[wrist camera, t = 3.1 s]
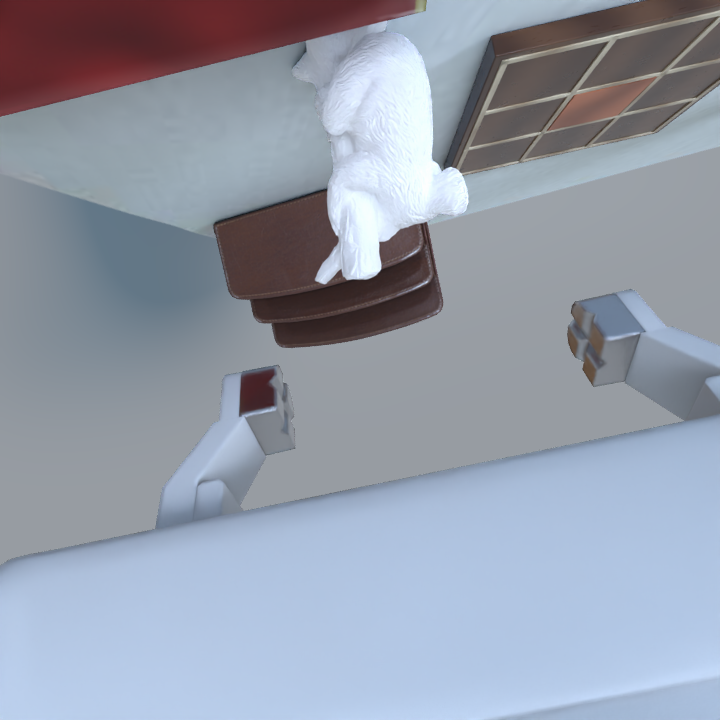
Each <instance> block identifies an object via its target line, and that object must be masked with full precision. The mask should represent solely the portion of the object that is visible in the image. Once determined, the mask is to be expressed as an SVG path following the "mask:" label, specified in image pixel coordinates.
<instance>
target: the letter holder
mask: <svg viewBox="0 0 720 720" xmlns="http://www.w3.org/2000/svg"><path fill="white" fill-rule="evenodd" d="M327 190H328V189H326V190H322V191H319V192H316V193H313V194H309V195H306V196H302V197H300V198H296V199H293V200H290V201H287V202H283V203H280V204H276V205H273V206H269V207H267V208H263V209H259V210H257V211H253V212H249V213H246V214H242V215H239V216H236V217H232V218H229V219H225V220H222V221H218V222H215V223H214V233H215V235H216V238H217V243H218V247H219V252H220V256H221V260H222V264H223V269H224V273H225V277H226V282H227V286H228V290H229V292H230V294H231V295H232V297H234V298H236V299H245V300H246V299H247V300H250V301H251V307H252V312H253V315H254V318H255V319H256V320H257V321H258V322H260V323H272V329H273V333H274V338H275V341H276V343H277V344H278V345H279V346H281V347H285V348H295V347H310V346H319V345H329V344H336V343H342V342H348V341H353V340H358V339H362V338H366V337H370V336H374V335H378V334H382V333H385V332H388V331H392V330H395V329H399V328H402V327H405V326H408V325H411V324H414V323H416V322H419V321H422V320H424V319H427V318H430V317H432V316H434V315H437V314H438V313H439V312H440V311H441V310H442V307H443V299H442V298H443V297H442V293H441V288H440V283H439V279H438V274H437V270H436V264H435V259H434V255H433V249H432V244H431V239H430V234H429V229H428V224H427V222H425V223H419V224H414V225H412V226H409V227H405V228H403V229H400V230H399V231H397V233H396V234H395V235H393V236H392V237H391V238H390V239H389V240H387V241H385V242H379V255H380V260H381V270H380V272H378V274H377V275H376V276H374V277H372V278H370V279H365V280H364V279H360V280H359V279H352V280H346V278H345V277H343V274H342V269H340V270H339V271H338V272H337V273H336V275H335V276H334V277H333V278H332V279H331V280H330V281H328V282H327V284H322V283H319V282H317V281H315V278H316V276H317V273H318V271H319V269H320V267H321V265H322V263H323V262H324V261H325V260H326V259H327V258H328V257H329V255H330V254H331V252H332V251H333V249H334V247H336V246H337V244H338V242H339V237H338V236H337V235H336V234H335V232H334V230H333V228H332V225H331V222H330V219H329V216H328V207H327Z"/></svg>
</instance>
